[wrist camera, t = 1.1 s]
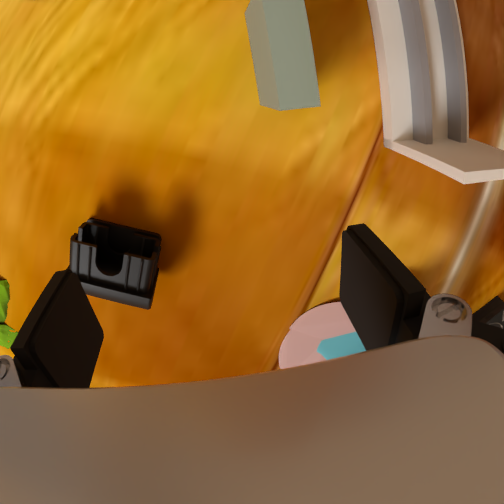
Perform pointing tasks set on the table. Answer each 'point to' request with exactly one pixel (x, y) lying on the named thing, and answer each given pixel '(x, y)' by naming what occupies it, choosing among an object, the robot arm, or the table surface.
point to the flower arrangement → (319, 337)
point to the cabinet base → (428, 89)
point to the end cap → (116, 262)
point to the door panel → (282, 54)
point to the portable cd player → (491, 313)
